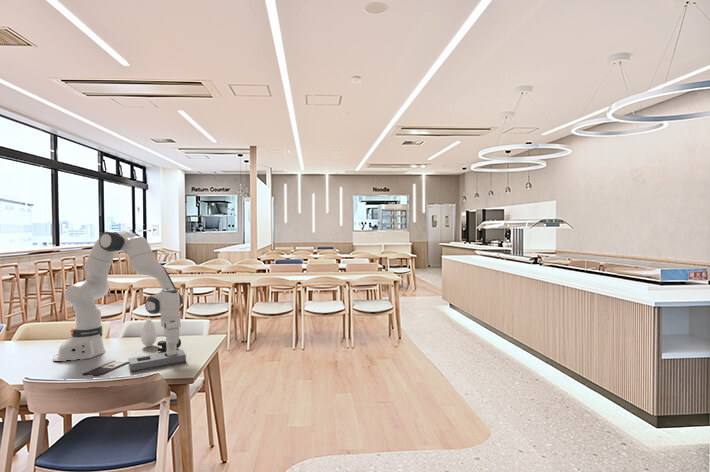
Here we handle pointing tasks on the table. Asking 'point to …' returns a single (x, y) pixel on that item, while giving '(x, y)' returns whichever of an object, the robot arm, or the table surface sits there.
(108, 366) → the chocolate bar
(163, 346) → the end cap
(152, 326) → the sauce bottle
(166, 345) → the charger
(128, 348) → the table surface
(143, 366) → the power strip
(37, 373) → the table surface
